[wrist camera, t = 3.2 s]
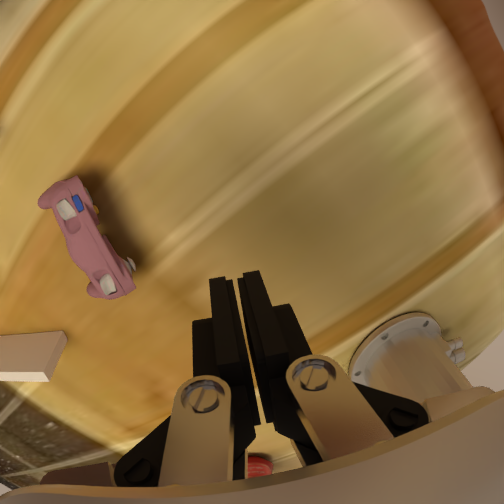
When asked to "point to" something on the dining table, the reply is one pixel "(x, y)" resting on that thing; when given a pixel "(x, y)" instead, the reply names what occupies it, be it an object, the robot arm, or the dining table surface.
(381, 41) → the dining table surface
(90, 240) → the video game controller
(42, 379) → the bin
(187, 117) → the dining table surface
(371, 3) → the dining table surface
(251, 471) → the red glass bottle
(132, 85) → the dining table surface
